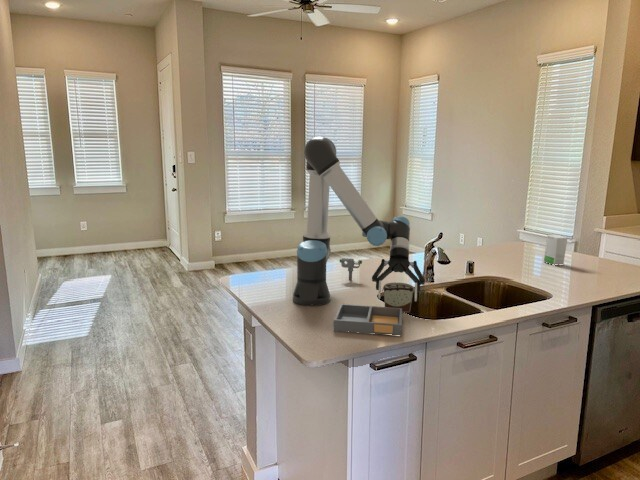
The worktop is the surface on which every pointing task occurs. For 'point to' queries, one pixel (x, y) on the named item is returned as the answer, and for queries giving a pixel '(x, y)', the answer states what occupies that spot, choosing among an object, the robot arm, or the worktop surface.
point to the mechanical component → (350, 265)
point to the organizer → (368, 319)
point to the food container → (398, 295)
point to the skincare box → (555, 249)
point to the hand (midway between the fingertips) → (397, 298)
